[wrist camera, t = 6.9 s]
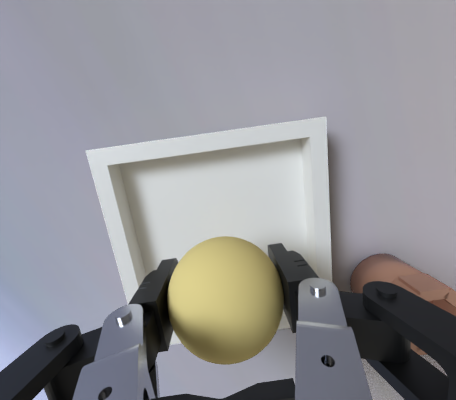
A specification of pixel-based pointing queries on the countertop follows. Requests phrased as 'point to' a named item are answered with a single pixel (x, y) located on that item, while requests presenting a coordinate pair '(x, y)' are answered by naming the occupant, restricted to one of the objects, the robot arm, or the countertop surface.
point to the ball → (225, 300)
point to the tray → (216, 195)
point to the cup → (403, 282)
